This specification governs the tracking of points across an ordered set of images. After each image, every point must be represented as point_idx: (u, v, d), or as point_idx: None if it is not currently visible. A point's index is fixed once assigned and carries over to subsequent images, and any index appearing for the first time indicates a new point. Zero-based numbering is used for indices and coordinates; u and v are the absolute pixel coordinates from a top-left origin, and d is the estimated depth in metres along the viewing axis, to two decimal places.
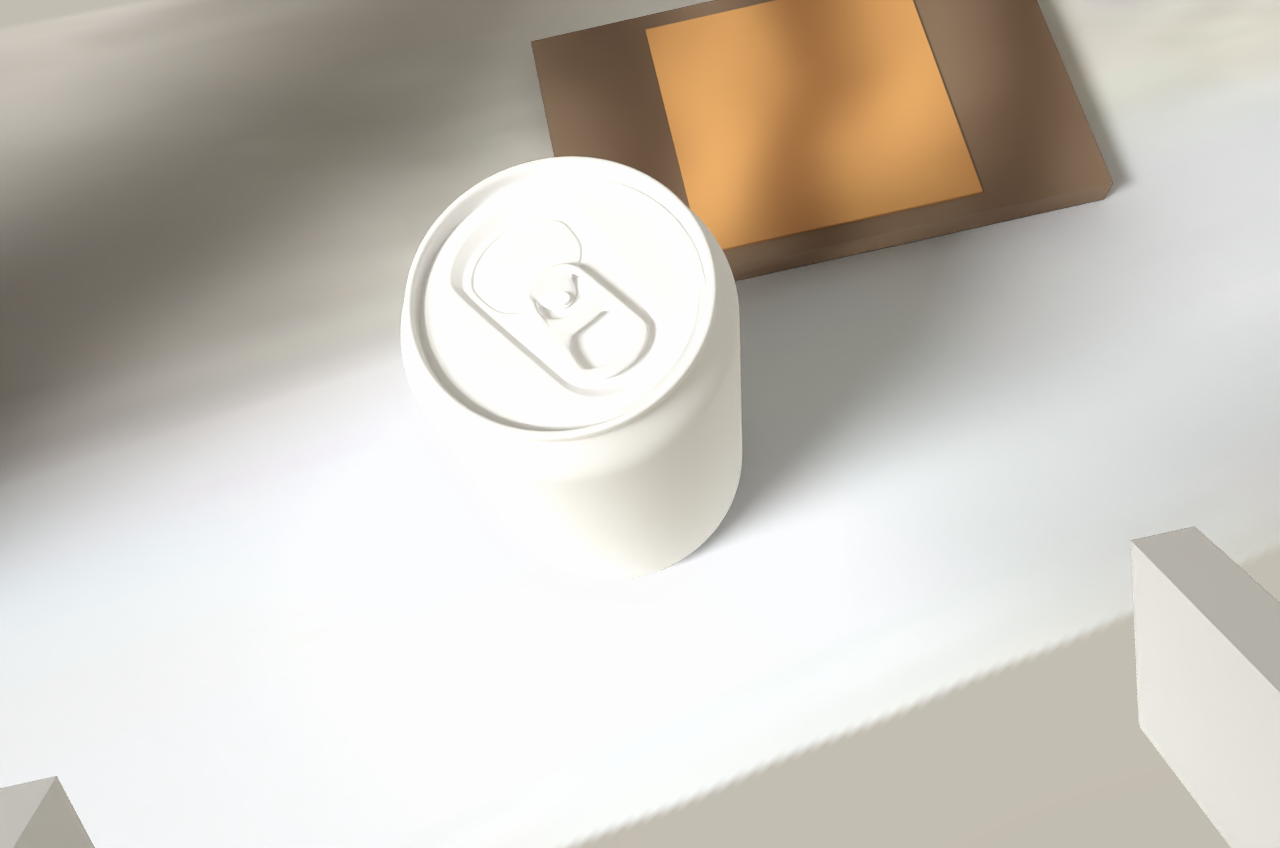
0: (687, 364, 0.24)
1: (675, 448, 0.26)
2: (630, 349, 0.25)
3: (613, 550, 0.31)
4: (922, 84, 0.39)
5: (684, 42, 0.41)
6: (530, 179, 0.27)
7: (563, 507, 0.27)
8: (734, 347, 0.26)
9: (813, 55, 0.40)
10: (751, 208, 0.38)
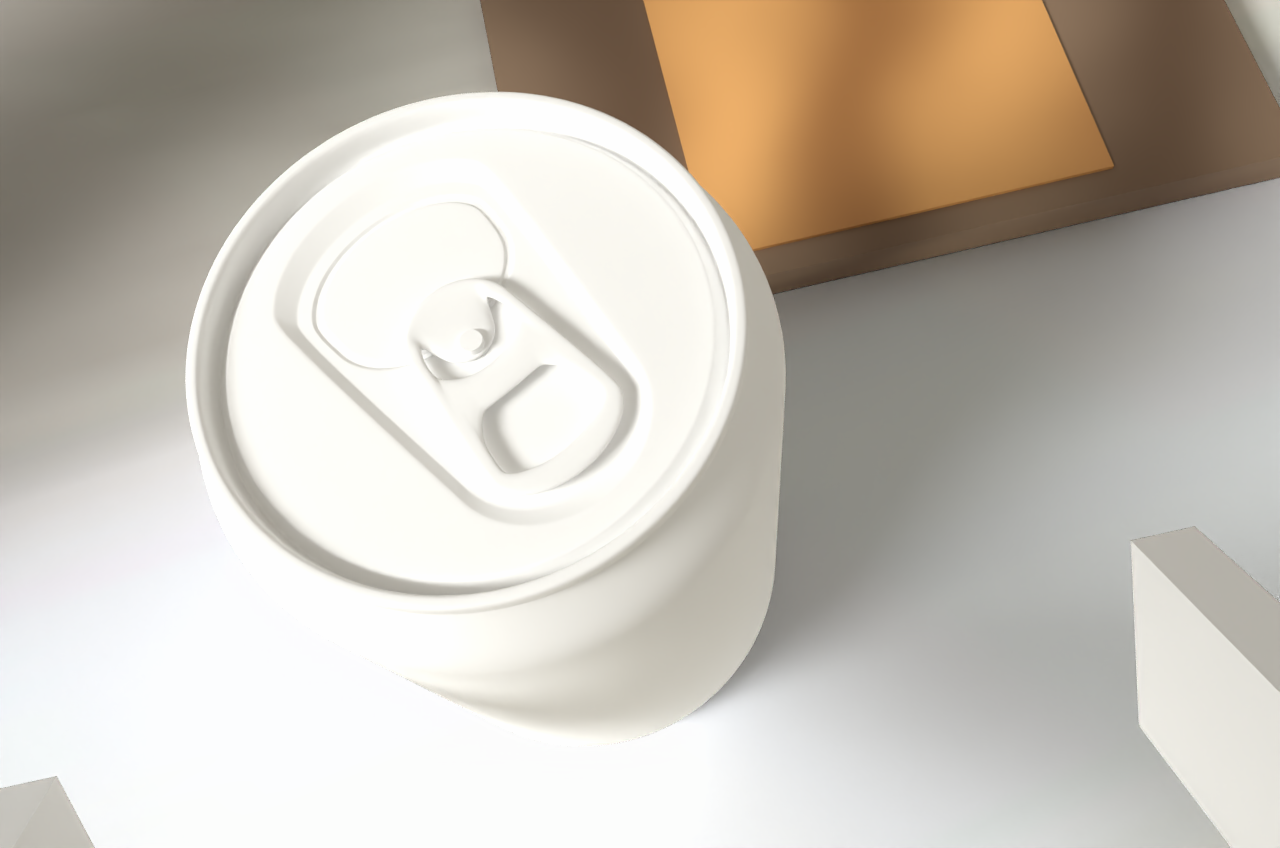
0: (696, 464, 0.13)
1: (675, 607, 0.14)
2: (590, 436, 0.13)
3: (580, 726, 0.20)
4: (1019, 18, 0.28)
5: None
6: (421, 133, 0.16)
7: (484, 695, 0.16)
8: (778, 424, 0.15)
9: None
10: (782, 193, 0.27)
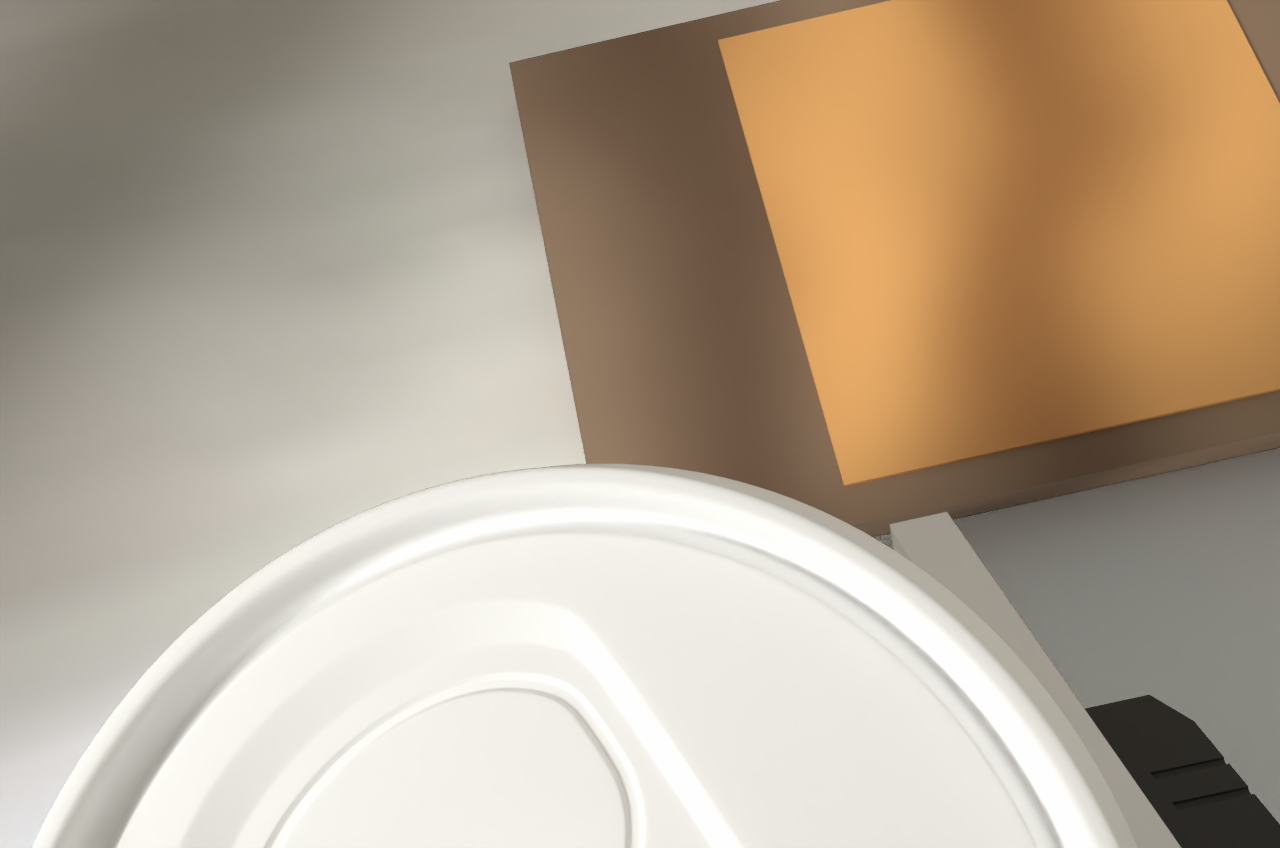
0: None
1: None
2: None
3: None
4: (1254, 140, 0.20)
5: (791, 62, 0.22)
6: (456, 529, 0.08)
7: None
8: None
9: (1037, 86, 0.21)
10: (939, 389, 0.19)
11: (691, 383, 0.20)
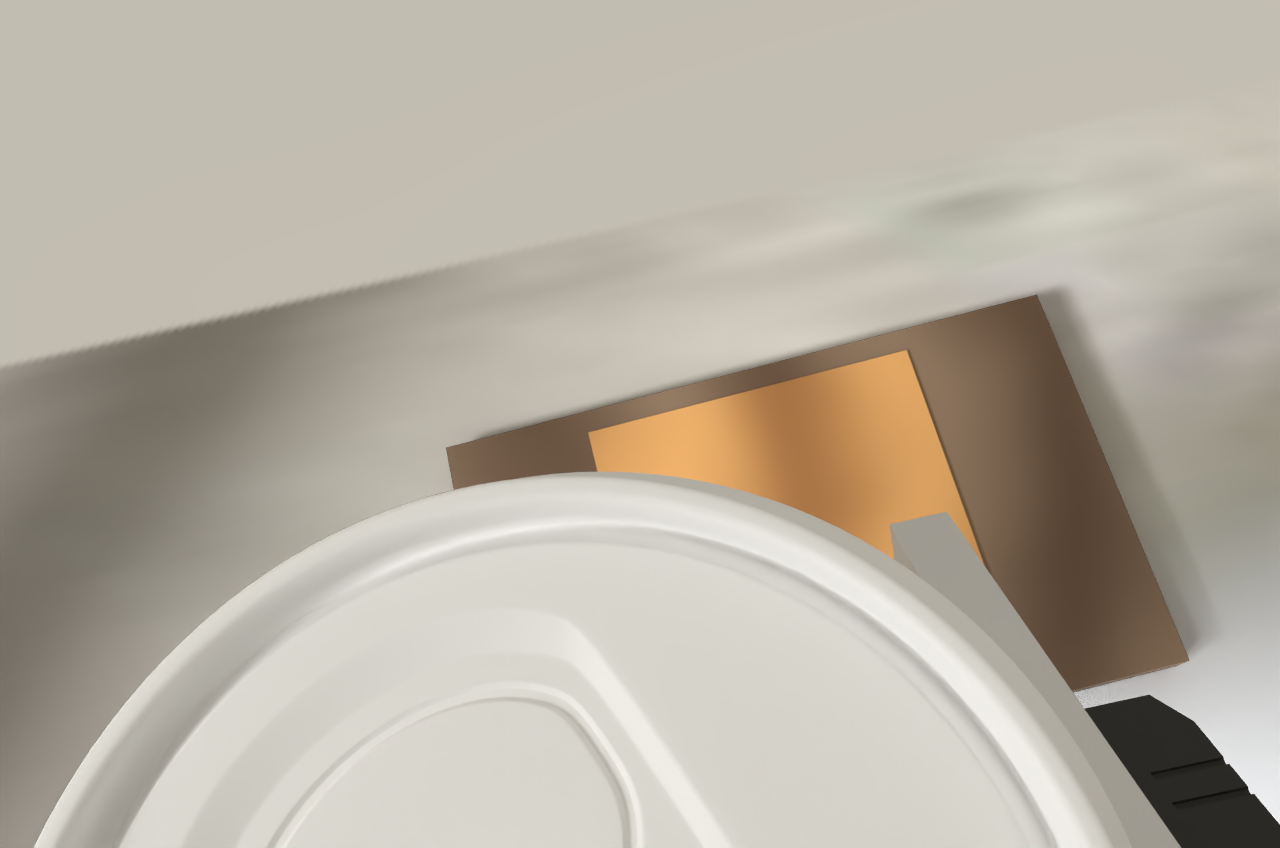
0: None
1: None
2: None
3: None
4: (938, 512, 0.31)
5: (637, 449, 0.33)
6: (453, 538, 0.08)
7: None
8: None
9: (799, 471, 0.32)
10: None
11: None
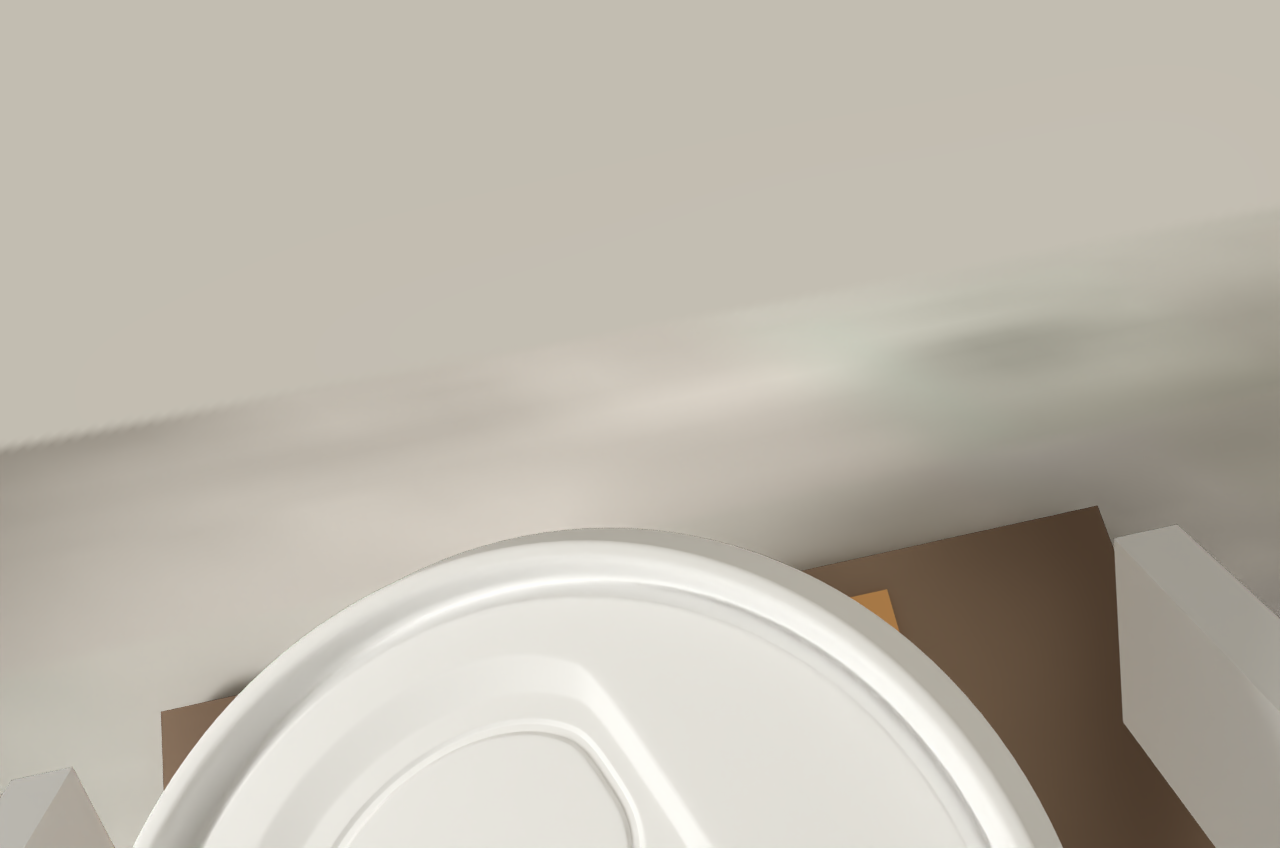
0: None
1: None
2: None
3: None
4: None
5: None
6: (480, 592, 0.09)
7: None
8: None
9: None
10: None
11: None
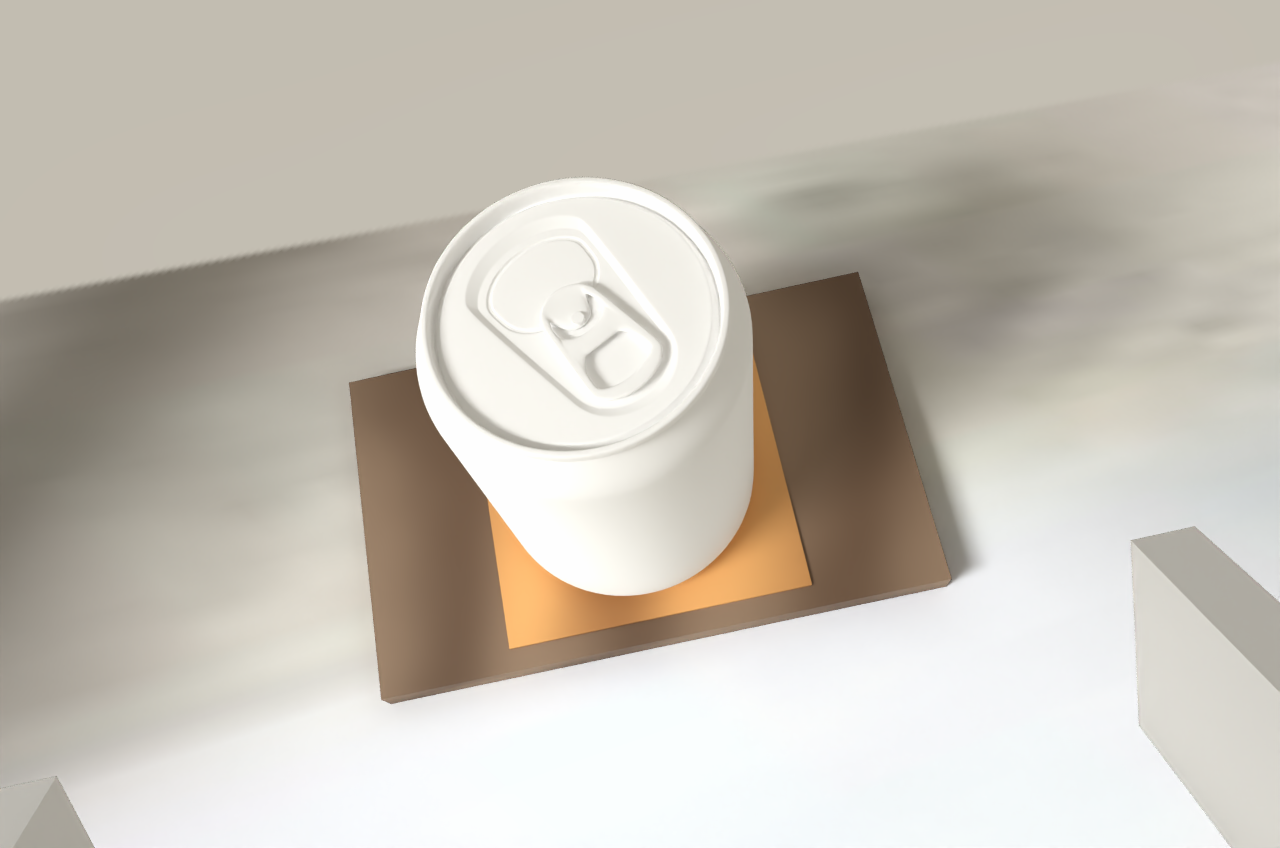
0: (701, 384, 0.24)
1: (689, 467, 0.26)
2: (644, 369, 0.25)
3: (625, 567, 0.31)
4: (756, 450, 0.37)
5: None
6: (544, 199, 0.27)
7: (576, 525, 0.27)
8: (747, 367, 0.26)
9: None
10: (566, 595, 0.35)
11: (435, 587, 0.36)
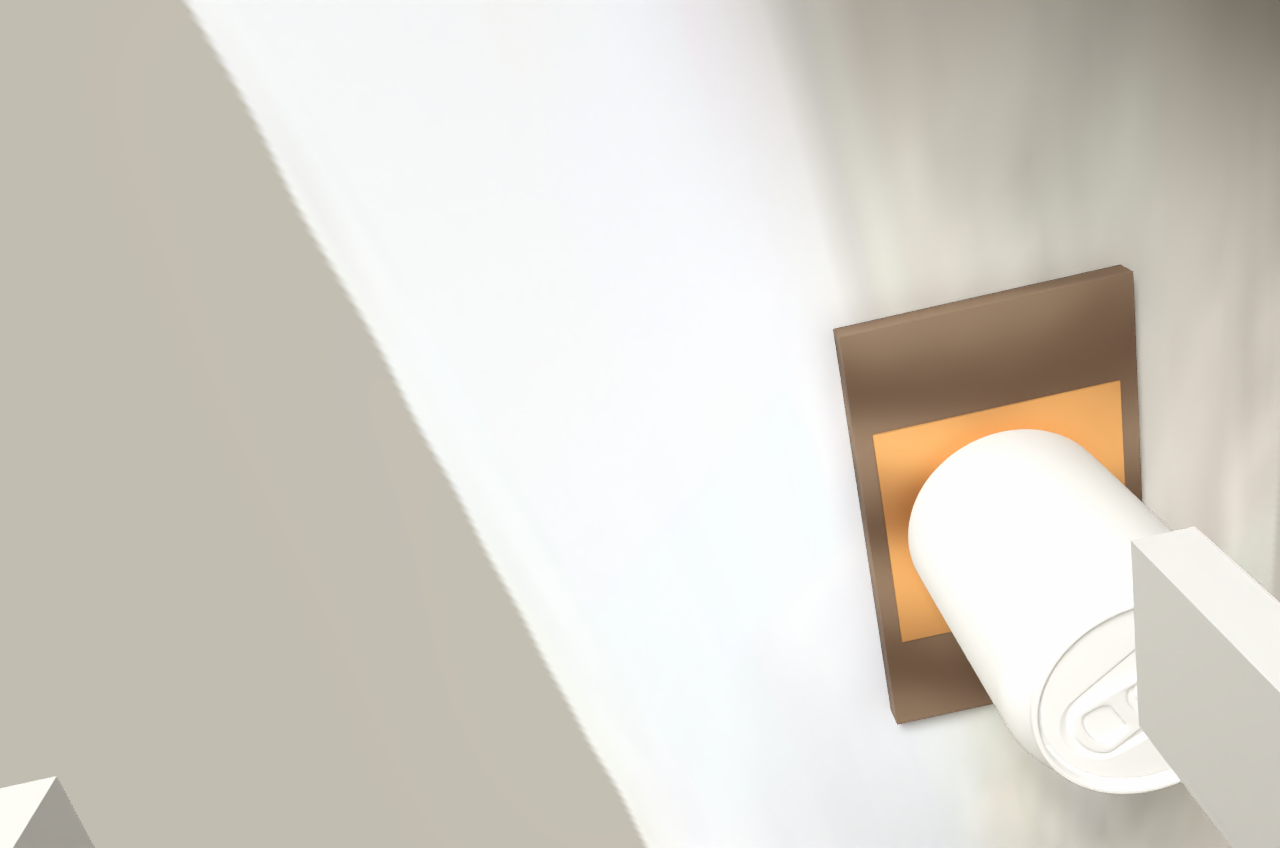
0: (1073, 781, 0.35)
1: None
2: (1091, 744, 0.34)
3: (935, 583, 0.41)
4: None
5: (1098, 415, 0.43)
6: None
7: (978, 631, 0.36)
8: None
9: None
10: (912, 475, 0.44)
11: (929, 370, 0.42)
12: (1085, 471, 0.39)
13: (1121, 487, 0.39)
